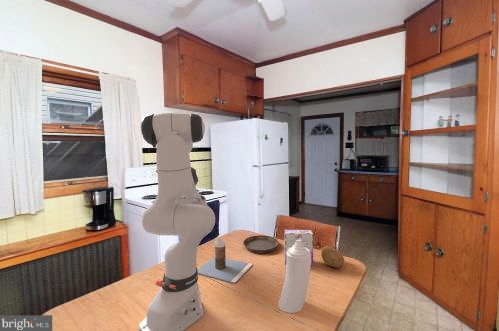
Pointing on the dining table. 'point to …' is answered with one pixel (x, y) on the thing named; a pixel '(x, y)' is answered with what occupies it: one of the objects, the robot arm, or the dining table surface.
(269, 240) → the plant saucer
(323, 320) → the dining table surface
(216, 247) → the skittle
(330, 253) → the potato
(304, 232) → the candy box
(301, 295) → the spray can
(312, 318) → the dining table surface
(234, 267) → the mat
